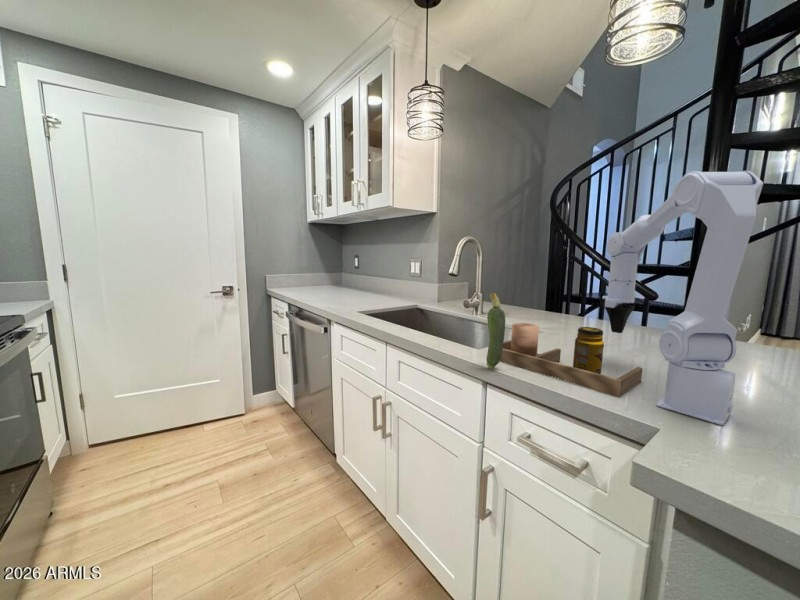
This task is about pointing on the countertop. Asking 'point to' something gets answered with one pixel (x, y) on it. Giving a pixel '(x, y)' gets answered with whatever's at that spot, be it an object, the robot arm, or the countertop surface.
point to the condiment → (589, 349)
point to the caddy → (526, 356)
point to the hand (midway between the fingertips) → (616, 332)
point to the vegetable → (495, 332)
